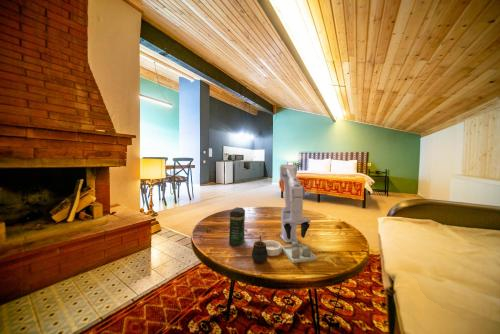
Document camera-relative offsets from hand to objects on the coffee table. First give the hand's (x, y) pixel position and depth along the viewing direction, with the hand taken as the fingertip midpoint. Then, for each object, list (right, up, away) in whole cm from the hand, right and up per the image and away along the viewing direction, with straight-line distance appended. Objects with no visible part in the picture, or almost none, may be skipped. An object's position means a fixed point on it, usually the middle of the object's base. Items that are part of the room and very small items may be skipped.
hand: (295, 237), depth 92 cm
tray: (+1, -7, -2) cm, 8 cm away
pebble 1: (-2, -7, -6) cm, 9 cm away
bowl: (-12, -7, +2) cm, 14 cm away
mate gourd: (-18, -8, -8) cm, 21 cm away
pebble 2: (+4, -7, -4) cm, 9 cm away
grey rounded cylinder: (0, -7, 0) cm, 7 cm away
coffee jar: (-30, -7, +11) cm, 32 cm away
